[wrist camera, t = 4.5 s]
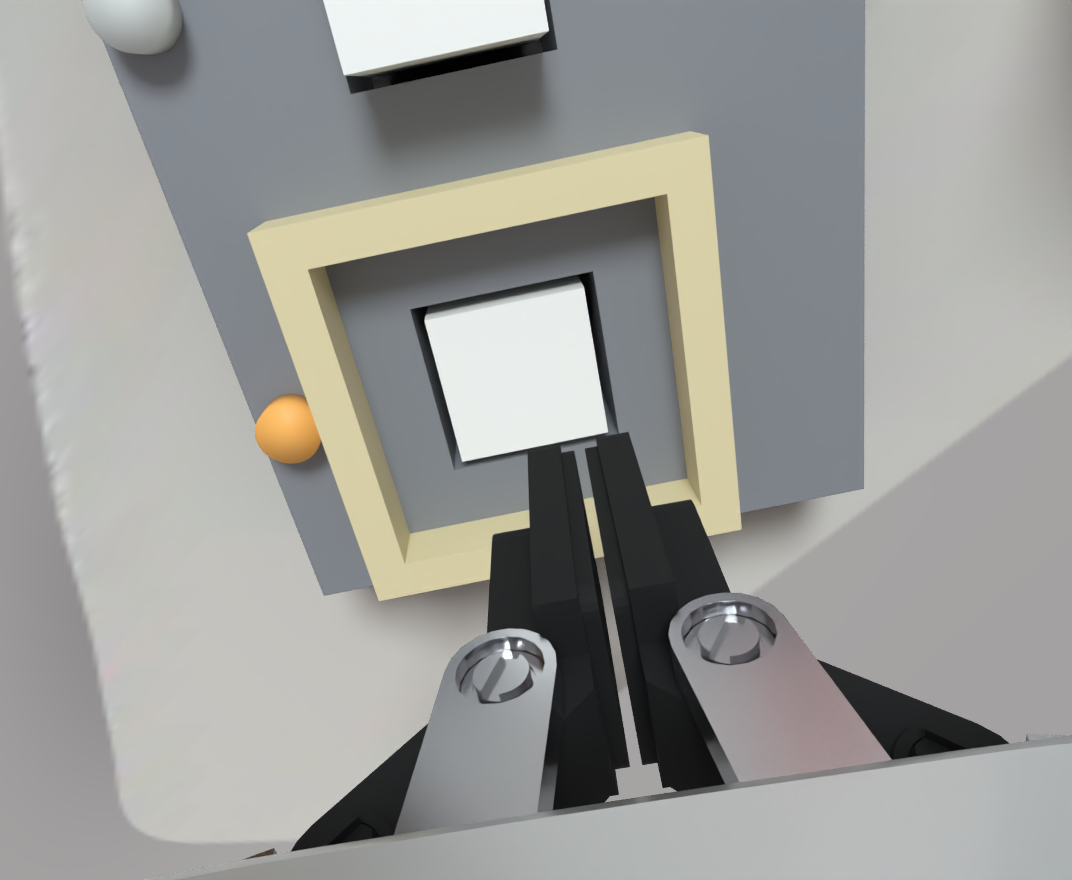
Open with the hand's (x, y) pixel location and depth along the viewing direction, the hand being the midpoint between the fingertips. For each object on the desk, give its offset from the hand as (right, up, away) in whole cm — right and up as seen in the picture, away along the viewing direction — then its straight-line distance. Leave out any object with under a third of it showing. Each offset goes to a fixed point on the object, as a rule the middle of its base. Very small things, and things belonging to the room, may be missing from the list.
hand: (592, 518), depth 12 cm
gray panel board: (-2, +9, +8) cm, 13 cm away
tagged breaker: (-2, +5, +10) cm, 12 cm away
